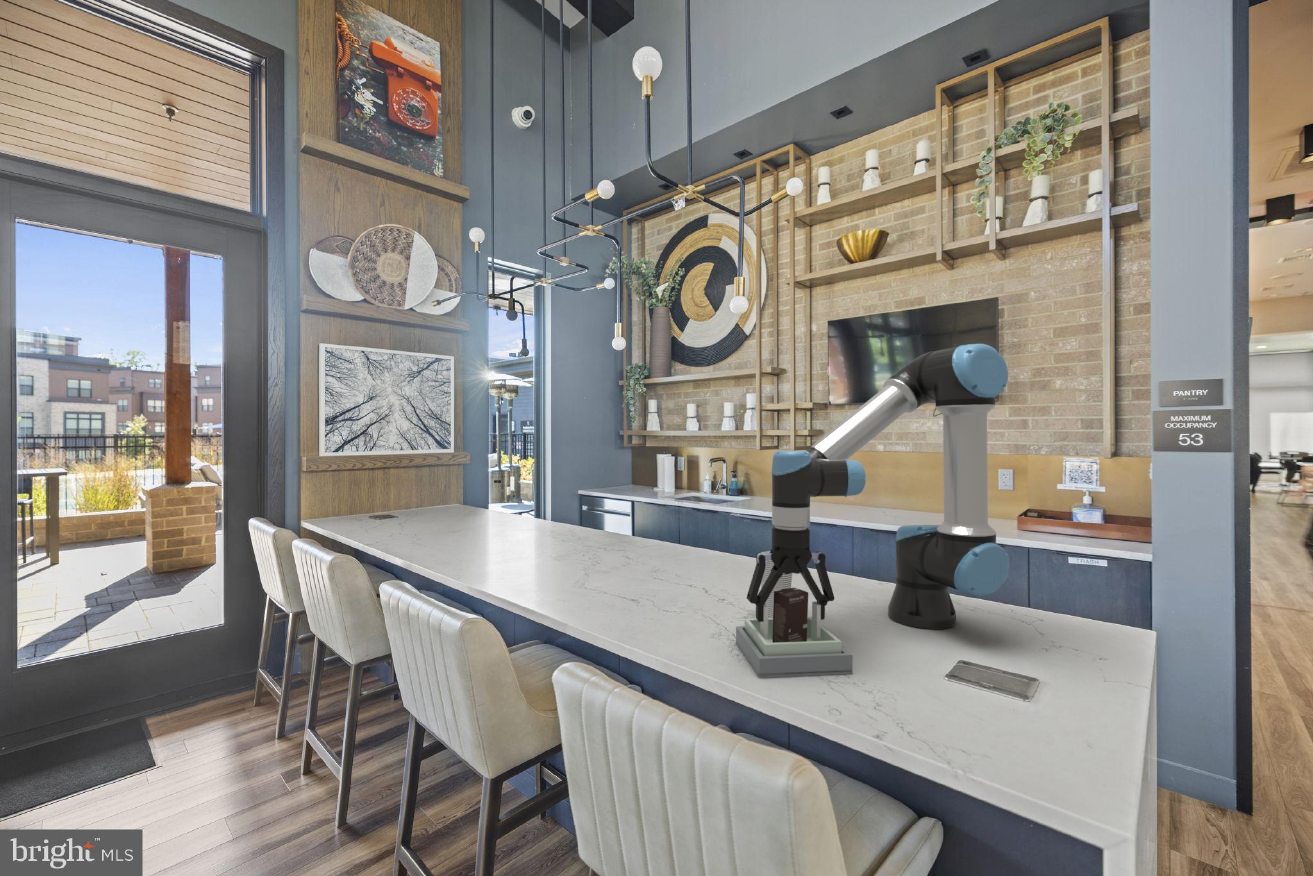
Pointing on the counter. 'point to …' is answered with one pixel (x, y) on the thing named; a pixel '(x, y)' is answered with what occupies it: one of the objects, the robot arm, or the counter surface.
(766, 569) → the cup
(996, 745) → the counter surface
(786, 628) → the box
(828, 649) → the crates
